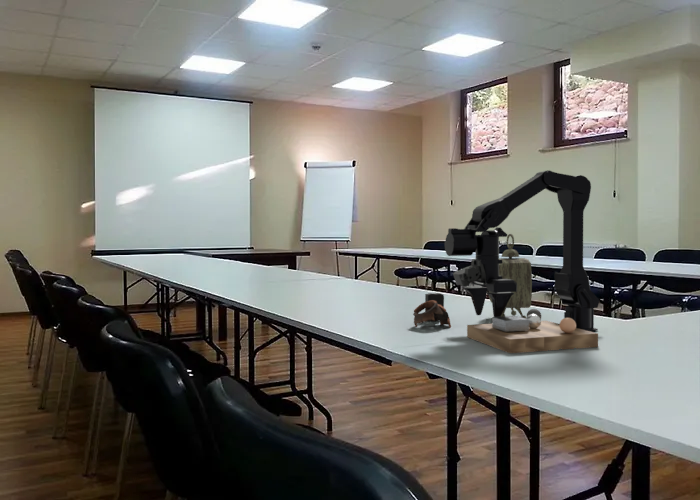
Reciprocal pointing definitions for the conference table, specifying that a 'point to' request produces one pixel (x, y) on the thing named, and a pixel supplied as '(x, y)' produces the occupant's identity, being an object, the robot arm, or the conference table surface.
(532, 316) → the steel ball
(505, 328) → the brushed grey metal box
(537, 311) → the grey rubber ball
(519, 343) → the walnut deck
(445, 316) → the brown arched legged figurine
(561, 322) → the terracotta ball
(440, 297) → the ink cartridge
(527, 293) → the tabletop clock
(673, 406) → the conference table surface
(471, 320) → the conference table surface
